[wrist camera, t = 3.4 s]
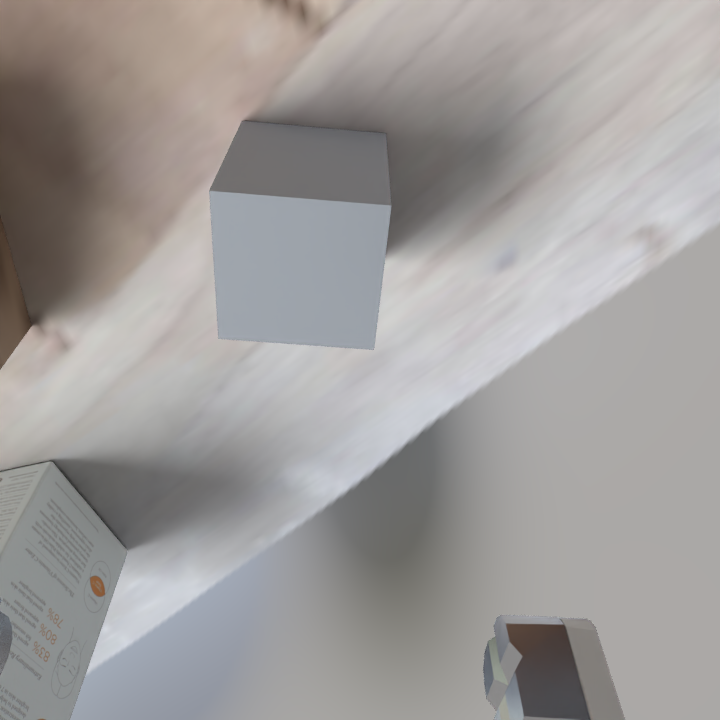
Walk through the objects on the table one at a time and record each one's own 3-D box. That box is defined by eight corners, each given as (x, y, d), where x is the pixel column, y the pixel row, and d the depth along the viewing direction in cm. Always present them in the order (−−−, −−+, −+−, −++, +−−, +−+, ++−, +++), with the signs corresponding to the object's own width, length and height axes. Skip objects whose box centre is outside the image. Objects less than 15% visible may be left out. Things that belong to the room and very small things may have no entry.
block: (242, 120, 22) (209, 191, 18) (386, 132, 23) (391, 205, 18) (245, 249, 25) (218, 338, 21) (372, 258, 26) (374, 349, 21)
